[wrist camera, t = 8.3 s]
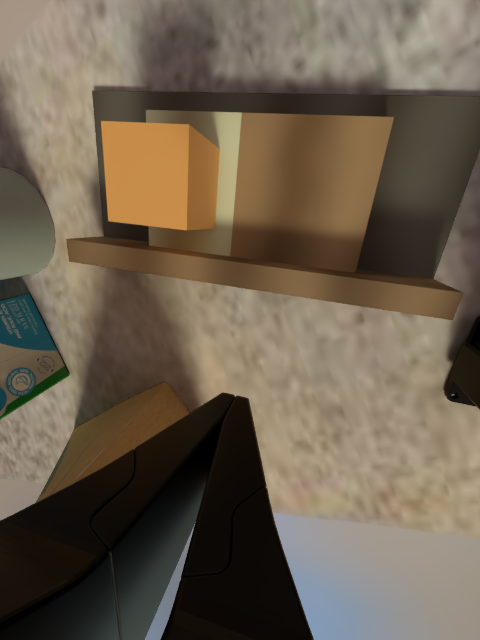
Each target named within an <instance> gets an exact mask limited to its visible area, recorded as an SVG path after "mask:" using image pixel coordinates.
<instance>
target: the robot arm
mask: <svg viewBox="0 0 480 640" xmlns="http://www.w3.org/2000/svg"><path fill="white" fill-rule="evenodd" d="M450 377H451V378H450V380H449V382H448V384H447V387H446V389H445V392H444V394H445V396H446V397H447V399H448V400H450V401H452V402H457V403H462V404H467V405H472V406H476V407H478V408H479V409H480V316H479V317H478V318H477V319H476V320H475V323H474V325H473V327H472V330H471V332H470V334H469V336H468V339H467V341H466V343H465V344H463V345H462V347H461V350H460V352H459V354H458V357H457V359H456V361H455V364H454V366H453V368H452V370H451V373H450ZM452 393H456V394H455V395H453V396H451V394H452ZM195 522H196V523H195ZM194 524H195V527H194ZM193 527H194V531H193V535H192V538H191V542H190V546H189V549H188V553H187V557H186V560H185V564H184V568H183V572H182V576H181V581H180V583H179V587H178V590H177V594H176V597H175V601H174V604H173V607H172V610H171V614H170V617H169V620H168V622H167V625H166V628H165V630H164V633H163V635H162V637H161V640H314V639H313V636H312V633H311V630H310V628H309V625H308V622H307V619H306V616H305V613H304V610H303V607H302V605H301V601H300V598H299V595H298V593H297V589H296V586H295V583H294V580H293V578H292V575H291V572H290V569H289V566H288V563H287V560H286V557H285V554H284V551H283V548H282V544H281V541H280V538H279V535H278V531H277V528H276V525H275V521H274V517H273V513H272V508H271V504H270V500H269V495H268V490H267V488H266V481H265V476H264V471H263V466H262V461H261V457H260V452H259V447H258V442H257V437H256V432H255V427H254V422H253V417H252V413H251V408H250V403H249V399H248V398H246V397H241V396H236V397H235V396H234V395H233V394H228V393H221V394H219V395H218V396H216V397H215V398H213V399H211V400H210V401H208V402H207V403H205V404H203V405H202V406H200V407H199V408H197V409H196V410H194V411H192V412H191V413H189V414H188V415H186V416H184V417H183V418H181V419H180V420H178V421H177V422H175V423H173V424H172V425H170V426H169V427H167V428H165V429H164V430H162V431H161V432H159V433H157V434H156V435H154V436H153V437H151V438H150V439H148V440H146V441H145V442H143V443H142V444H140V445H138V446H137V447H136V448H135V449H132V450H130V451H129V452H127V453H126V454H124V455H122V456H121V457H119V458H117V459H116V460H114V461H112V462H111V463H109V464H107V465H106V466H104V467H102V468H101V469H99V470H97V471H95V472H93V473H92V474H90V475H88V476H86V477H84V478H82V479H81V480H79V481H77V482H75V483H73V484H71V485H69V486H67V487H65V488H63V489H61V490H60V491H58V492H56V493H54V494H52V495H50V496H48V497H46V498H44V499H42V500H40V501H38V502H36V503H35V504H33V505H31V506H29V507H27V508H25V509H23V510H21V511H19V512H17V513H15V514H14V515H11V516H9V517H7V518H5V519H3V520H1V521H0V640H145V637H146V635H147V632H148V630H149V628H150V626H151V623H152V621H153V619H154V616H155V614H156V612H157V610H158V607H159V605H160V602H161V600H162V598H163V596H164V593H165V591H166V589H167V586H168V584H169V582H170V579H171V577H172V575H173V573H174V570H175V568H176V566H177V563H178V561H179V559H180V557H181V554H182V552H183V550H184V547H185V545H186V543H187V540H188V538H189V536H190V534H191V531H192V529H193Z"/></svg>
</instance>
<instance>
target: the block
mask: <svg viewBox="0 0 480 640" xmlns="http://www.w3.org/2000/svg"><path fill="white" fill-rule="evenodd" d="M101 129H102V142H103V156H104V169H105V183H106V196H107V210H108V221H111V222H119V223H128V224H136V225H145V226H153V227H162V228H170V229H179V230H201V229H215V222H216V205H217V188H218V172H219V155H220V149H219V148H217V147H216V146H215V145H214V144H213V143H211V142H210V141H209V140H208V139H206V138H205V137H204V136H203V135H202V134H200V133H199V132H198V131H197V130H195V129H194V128H193V127H192V126H191V125H189V124H166V123H141V122H116V121H101Z"/></svg>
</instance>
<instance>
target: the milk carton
mask: <svg viewBox="0 0 480 640" xmlns="http://www.w3.org/2000/svg"><path fill="white" fill-rule="evenodd" d="M68 376H69V373H68V371H67V369H66V367H65V365H64V363H63V361H62V359H61V357H60V355H59V353H58V351H57V349H56V347H55V345H54V343H53V341H52V339H51V337H50V335H49V333H48V330H47V328H46V326H45V324H44V322H43V320H42V318H41V316H40V314H39V312H38V310H37V308H36V306H35V304H34V302H33V300H32V298H31V296H30V294H23V295H20V296H16V297H12V298H8V299H4V300H0V419H2V418H3V417H5V416H6V415H8V414H10V413H11V412H13V411H14V410H16V409H17V408H19V407H21V406H22V405H24V404H25V403H27V402H28V401H30V400H32V399H33V398H35V397H36V396H38V395H39V394H41V393H43V392H44V391H46V390H47V389H49V388H50V387H52V386H54V385H55V384H57V383H58V382H60V381H61V380H63V379H65V378H66V377H68Z"/></svg>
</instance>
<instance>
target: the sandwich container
mask: <svg viewBox="0 0 480 640" xmlns="http://www.w3.org/2000/svg"><path fill="white" fill-rule="evenodd" d="M188 414H189V412H188V410H187V409H186V408H185V406H184V405H183V404H182V402H181V401H180V400H179V398H178V397H177V395H176V394H175V393H174V391H173V390H172V389H171V387H170V386H169V385H168V383H167V382H163V383H161V384H158V385H156V386H154V387H152V388H150V389H148V390H146V391H144V392H142V393H140V394H137V395H135V396H133V397H131V398H129V399H127V400H125V401H123V402H121V403H119V404H118V405H116V406H114V407H112V408H110V409H109V410H107V411H105V412H103V413H102V414H100V415H98V416H96V417H95V418H93V419H91V420H89V421H87V422H86V423H84V424H82V425H80V426H79V427H77V428H75V429H74V430H73V432H72V434H71V437H70V439H69V441H68V443H67V445H66V447H65V449H64V451H63V453H62V455H61V456H60V458H59V460H58V462H57V464H56V466H55V468H54V470H53V472H52V474H51V476H50V478H49V479H48V481H47V483H46V485H45V487H44V489H43V491H42V492H41V495H40V496H39V498H38V500H37V501H36V502H38V501H40V500H42V499H44V498H46V497H48V496H50V495H52V494H54V493H56V492H58V491H60V490H61V489H63V488H65V487H67V486H69V485H71V484H73V483H75V482H77V481H79V480H81V479H82V478H84V477H86V476H88V475H90V474H92V473H93V472H95V471H97V470H99V469H101V468H102V467H104V466H106V465H107V464H109V463H111V462H112V461H114V460H116V459H117V458H119V457H121V456H122V455H124V454H126V453H127V452H129V451H130V450H132V449H135V448H136V447H137V446H138V445H140V444H142V443H143V442H145V441H146V440H148V439H150V438H151V437H153V436H154V435H156V434H157V433H159V432H161V431H162V430H164V429H165V428H167V427H169V426H170V425H172V424H173V423H175V422H177V421H178V420H180V419H181V418H183V417H184V416H186V415H188Z"/></svg>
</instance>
